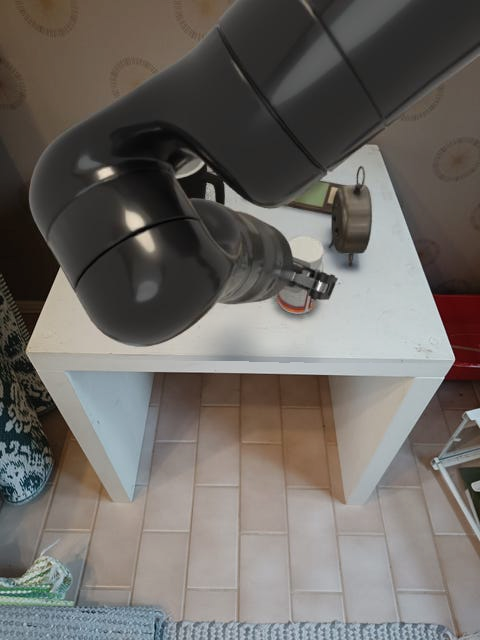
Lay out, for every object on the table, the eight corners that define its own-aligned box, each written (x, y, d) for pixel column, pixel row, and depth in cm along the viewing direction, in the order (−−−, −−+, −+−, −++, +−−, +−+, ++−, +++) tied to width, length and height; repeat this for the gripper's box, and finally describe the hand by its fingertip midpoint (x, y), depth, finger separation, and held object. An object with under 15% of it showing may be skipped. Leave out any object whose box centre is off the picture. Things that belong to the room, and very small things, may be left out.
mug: (229, 235, 78) (228, 178, 68) (140, 250, 75) (126, 193, 66) (210, 182, 87) (207, 125, 77) (130, 194, 85) (117, 136, 75)
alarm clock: (361, 271, 73) (388, 190, 60) (329, 271, 73) (349, 190, 60) (351, 228, 79) (374, 146, 66) (322, 227, 79) (339, 146, 66)
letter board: (364, 192, 86) (366, 186, 85) (358, 220, 80) (360, 215, 79) (258, 172, 89) (258, 166, 88) (246, 198, 84) (246, 192, 83)
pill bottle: (305, 282, 71) (315, 229, 62) (322, 309, 68) (335, 258, 58) (271, 291, 70) (276, 239, 61) (286, 320, 66) (294, 269, 57)
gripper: (334, 245, 34) (351, 258, 49) (182, 191, 38) (241, 219, 53) (300, 332, 35) (326, 318, 51) (156, 272, 39) (221, 276, 55)
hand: (282, 267), depth 52 cm, fingers open, 8 cm apart
